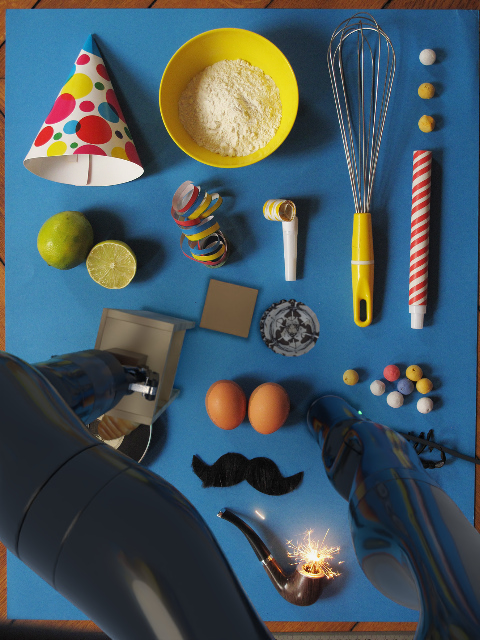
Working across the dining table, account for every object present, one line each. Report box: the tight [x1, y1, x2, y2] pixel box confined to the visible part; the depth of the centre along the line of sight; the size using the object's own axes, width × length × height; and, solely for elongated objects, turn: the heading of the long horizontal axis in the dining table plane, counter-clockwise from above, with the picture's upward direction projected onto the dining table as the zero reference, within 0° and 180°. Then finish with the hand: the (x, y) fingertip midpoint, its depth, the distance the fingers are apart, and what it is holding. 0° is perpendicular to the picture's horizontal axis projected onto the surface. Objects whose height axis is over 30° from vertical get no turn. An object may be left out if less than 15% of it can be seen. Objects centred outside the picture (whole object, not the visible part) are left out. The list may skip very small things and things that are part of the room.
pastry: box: [97, 415, 143, 442], centre depth 84 cm, size 9×7×4 cm
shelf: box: [93, 307, 196, 427], centre depth 74 cm, size 11×15×24 cm
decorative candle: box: [259, 298, 321, 357], centre depth 73 cm, size 9×9×25 cm
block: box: [103, 348, 148, 392], centre depth 58 cm, size 5×5×5 cm
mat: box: [199, 278, 259, 339], centre depth 85 cm, size 10×10×1 cm
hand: (126, 368), depth 60 cm, fingers closed on block, 5 cm apart
